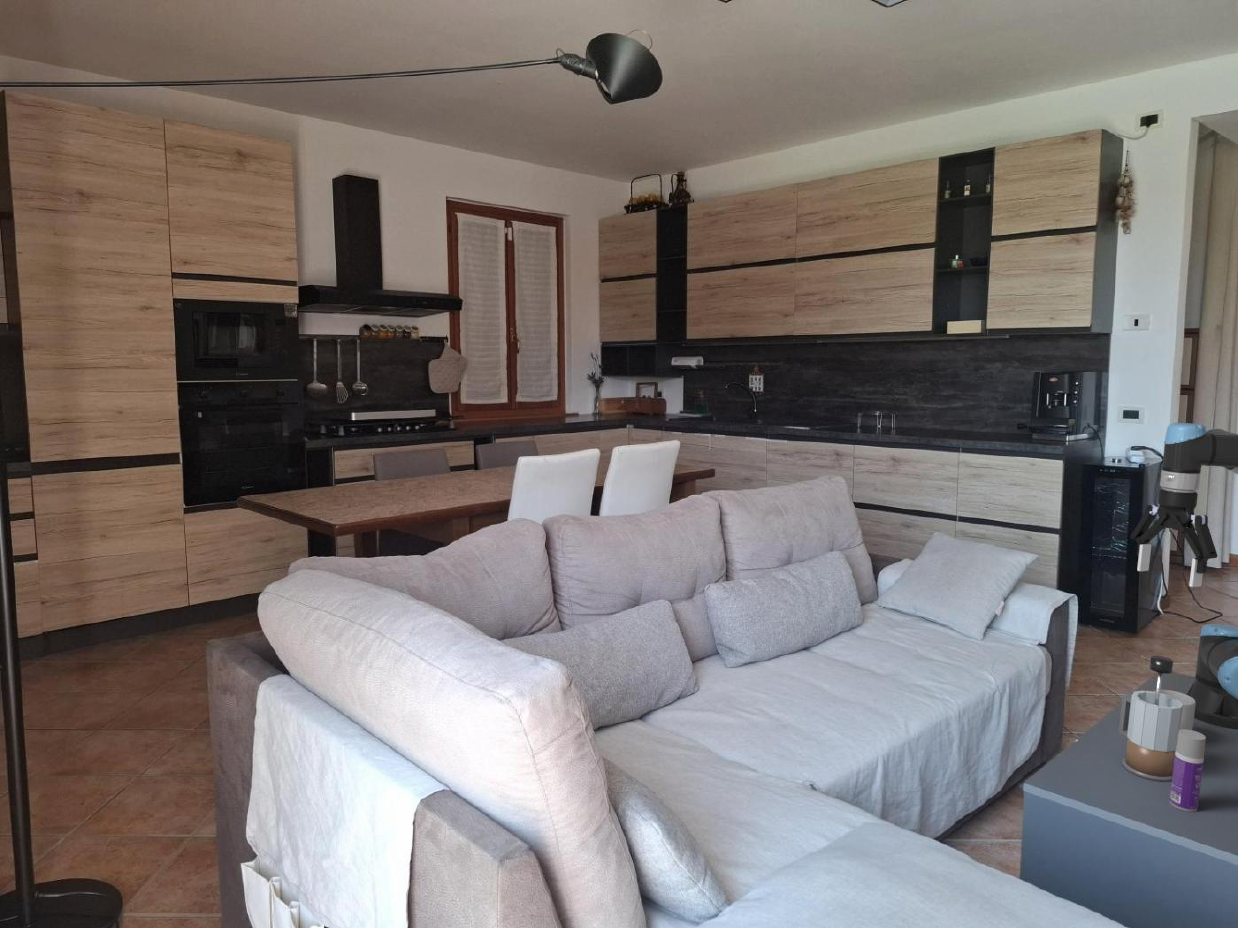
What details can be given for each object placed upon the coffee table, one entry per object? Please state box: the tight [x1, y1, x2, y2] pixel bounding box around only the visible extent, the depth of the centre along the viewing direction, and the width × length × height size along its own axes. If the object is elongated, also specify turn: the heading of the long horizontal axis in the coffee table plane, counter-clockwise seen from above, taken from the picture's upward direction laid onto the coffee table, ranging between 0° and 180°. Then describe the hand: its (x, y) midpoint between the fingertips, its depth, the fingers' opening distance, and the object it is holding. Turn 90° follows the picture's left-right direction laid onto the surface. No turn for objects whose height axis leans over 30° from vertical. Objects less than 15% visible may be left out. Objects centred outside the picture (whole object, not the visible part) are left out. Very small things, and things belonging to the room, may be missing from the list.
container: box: [1169, 729, 1207, 813], centre depth 165 cm, size 5×5×15 cm
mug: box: [1152, 689, 1196, 731], centre depth 194 cm, size 12×8×11 cm
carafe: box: [1118, 690, 1183, 783], centre depth 180 cm, size 10×12×16 cm
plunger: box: [1149, 655, 1174, 706], centre depth 178 cm, size 6×6×18 cm
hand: (1168, 578), depth 197 cm, fingers open, 13 cm apart
